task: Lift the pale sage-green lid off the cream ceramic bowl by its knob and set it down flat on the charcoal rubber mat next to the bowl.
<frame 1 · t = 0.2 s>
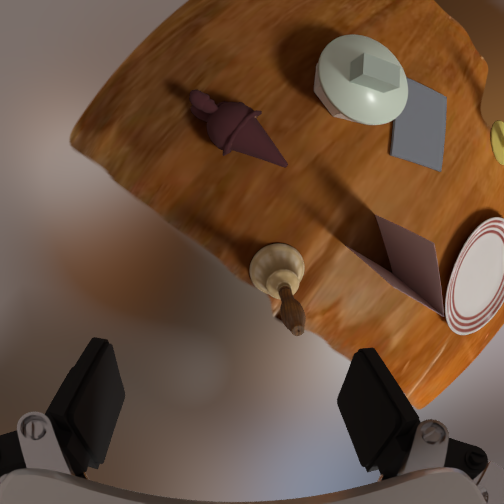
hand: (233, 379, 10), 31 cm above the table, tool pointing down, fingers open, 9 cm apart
bowl: (349, 86, 34), on the table
dinner plate: (478, 274, 47), on the table
lid: (364, 78, 29), point 5 cm above the table, touching bowl
greeting card: (370, 253, 43), on the table
icecream: (237, 132, 35), on the table
hand bell: (276, 269, 42), on the table
mat: (420, 123, 36), on the table
candle: (501, 142, 37), on the table
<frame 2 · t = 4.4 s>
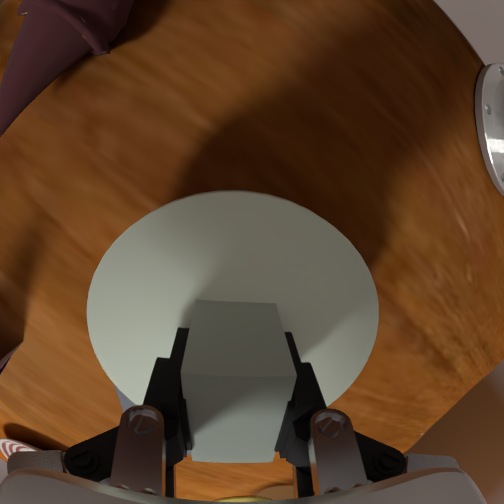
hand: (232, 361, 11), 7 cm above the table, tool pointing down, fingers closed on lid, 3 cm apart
dinner plate: (70, 474, 28), on the table
lid: (232, 339, 12), point 5 cm above the table, touching bowl, gripper
icecream: (94, 38, 11), on the table
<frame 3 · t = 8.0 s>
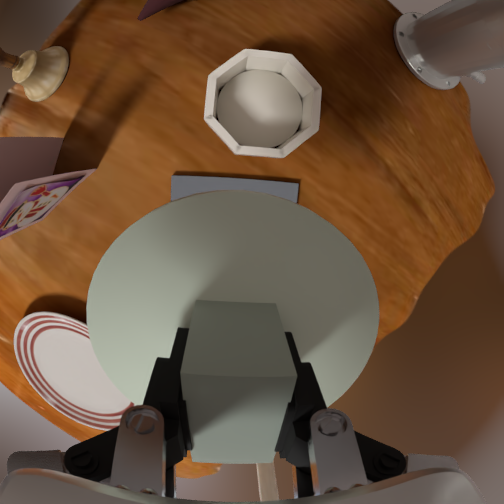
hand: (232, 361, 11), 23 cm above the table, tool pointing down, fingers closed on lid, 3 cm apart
bowl: (259, 109, 28), on the table
dinner plate: (82, 370, 39), on the table
lid: (232, 339, 12), point 21 cm above the table, touching gripper
greeting card: (58, 177, 28), on the table
hand bell: (46, 73, 23), on the table
mat: (231, 226, 32), on the table
candle: (255, 387, 41), on the table
when the fingers open (4 cm above the table, at t = 12.0 s): lid drops 2 cm, resting on mat.
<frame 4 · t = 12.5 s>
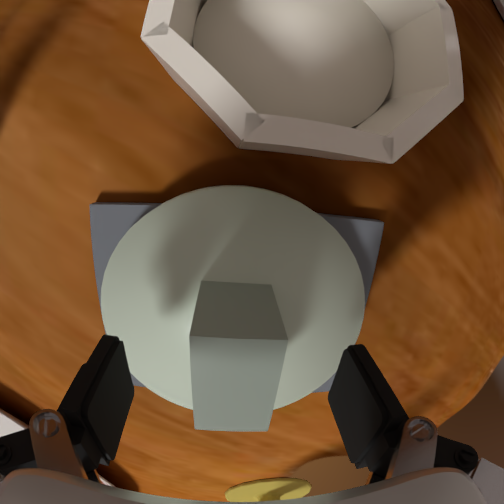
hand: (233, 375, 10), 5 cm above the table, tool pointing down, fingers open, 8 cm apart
bowl: (296, 45, 10), on the table
dinner plate: (41, 452, 21), on the table
lid: (232, 319, 14), point 1 cm above the table, touching mat
mat: (232, 314, 14), on the table
candle: (268, 491, 23), on the table
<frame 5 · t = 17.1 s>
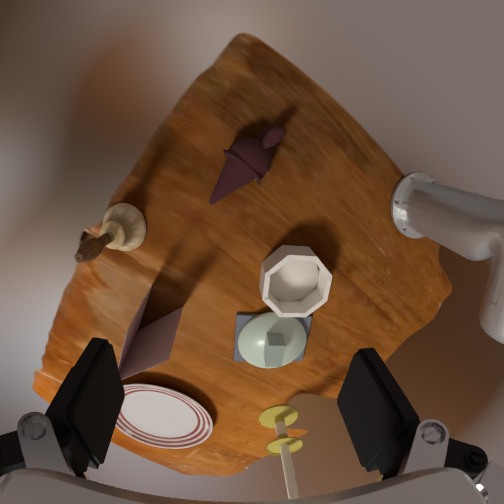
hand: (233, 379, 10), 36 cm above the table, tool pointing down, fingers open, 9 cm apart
bowl: (291, 275, 48), on the table
dinner plate: (159, 412, 59), on the table
lid: (272, 340, 52), point 1 cm above the table, touching mat
greeting card: (150, 307, 49), on the table
icecream: (244, 163, 42), on the table
hand bell: (124, 226, 44), on the table
mat: (271, 338, 53), on the table
candle: (278, 416, 61), on the table
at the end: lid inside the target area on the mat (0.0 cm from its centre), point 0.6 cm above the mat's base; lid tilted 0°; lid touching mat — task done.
